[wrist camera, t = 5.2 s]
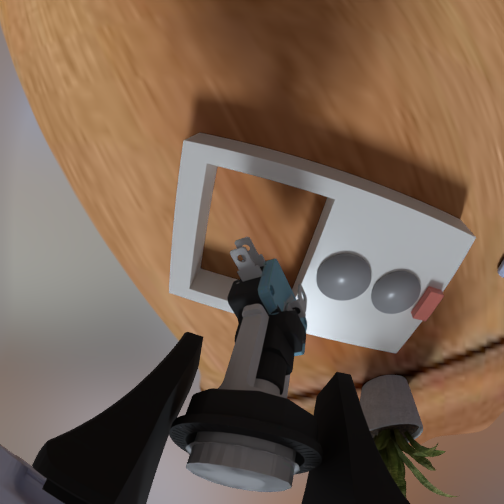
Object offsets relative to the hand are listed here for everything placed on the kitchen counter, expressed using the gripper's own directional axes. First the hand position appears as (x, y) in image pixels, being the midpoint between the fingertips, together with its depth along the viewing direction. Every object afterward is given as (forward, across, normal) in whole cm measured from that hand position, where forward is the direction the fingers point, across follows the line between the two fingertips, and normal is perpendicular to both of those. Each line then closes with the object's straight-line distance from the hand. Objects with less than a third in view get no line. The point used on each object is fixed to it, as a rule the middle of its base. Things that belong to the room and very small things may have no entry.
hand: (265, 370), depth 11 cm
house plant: (+11, -14, +14) cm, 22 cm away
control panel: (+10, -2, 0) cm, 11 cm away
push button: (+6, 0, 0) cm, 6 cm away
